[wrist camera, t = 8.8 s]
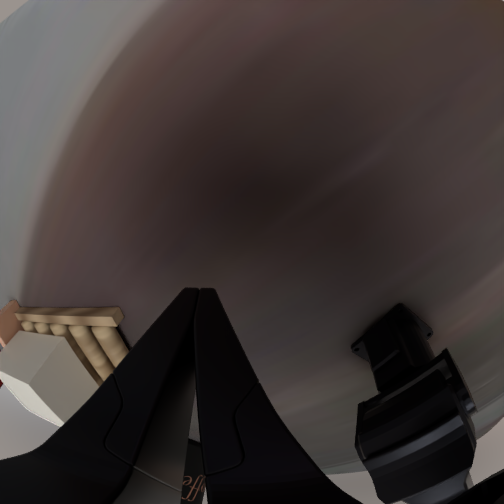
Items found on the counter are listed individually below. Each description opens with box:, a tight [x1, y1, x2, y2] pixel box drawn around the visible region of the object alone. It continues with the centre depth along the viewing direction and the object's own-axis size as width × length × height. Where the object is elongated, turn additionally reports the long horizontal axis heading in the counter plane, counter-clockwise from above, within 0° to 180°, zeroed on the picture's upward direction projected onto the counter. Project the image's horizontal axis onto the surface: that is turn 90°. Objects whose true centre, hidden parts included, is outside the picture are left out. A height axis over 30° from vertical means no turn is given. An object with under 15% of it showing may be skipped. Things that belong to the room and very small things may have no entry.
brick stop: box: [0, 300, 25, 348], centre depth 28 cm, size 2×16×6 cm, turn 11°
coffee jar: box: [180, 439, 206, 504], centre depth 30 cm, size 11×11×18 cm
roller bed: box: [15, 307, 129, 387], centre depth 28 cm, size 21×14×2 cm, turn 101°
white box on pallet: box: [0, 330, 99, 427], centre depth 24 cm, size 12×9×8 cm
